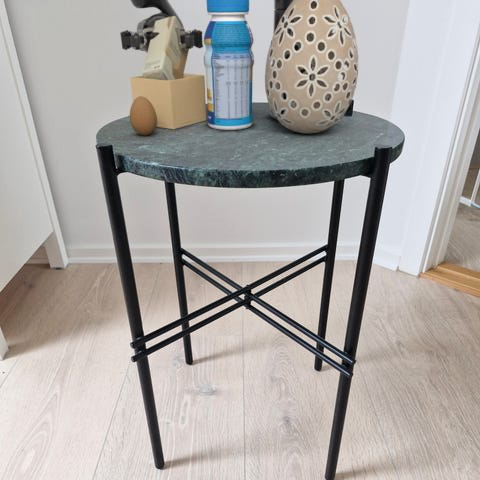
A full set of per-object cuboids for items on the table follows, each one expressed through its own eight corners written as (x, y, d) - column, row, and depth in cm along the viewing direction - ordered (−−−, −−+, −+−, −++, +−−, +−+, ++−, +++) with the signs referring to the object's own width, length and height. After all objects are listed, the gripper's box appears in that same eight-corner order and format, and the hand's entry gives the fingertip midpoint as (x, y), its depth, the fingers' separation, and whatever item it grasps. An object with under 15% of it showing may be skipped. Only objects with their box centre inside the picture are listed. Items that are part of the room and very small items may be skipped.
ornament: (311, 120, 85) (322, -11, 74) (368, 135, 75) (391, -14, 63) (247, 130, 79) (247, -12, 67) (300, 148, 68) (311, -16, 57)
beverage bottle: (230, 133, 77) (228, -13, 65) (197, 126, 81) (189, -11, 70) (262, 125, 82) (265, -12, 70) (229, 119, 86) (227, -10, 75)
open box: (170, 114, 90) (166, 71, 86) (206, 120, 86) (204, 75, 81) (135, 123, 84) (130, 77, 80) (173, 129, 80) (169, 81, 75)
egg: (131, 139, 74) (125, 99, 71) (133, 132, 78) (127, 94, 74) (158, 138, 74) (154, 98, 71) (159, 132, 78) (155, 93, 75)
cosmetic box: (161, 69, 76) (174, 13, 79) (140, 73, 78) (154, 18, 81) (180, 96, 82) (191, 43, 85) (160, 100, 84) (171, 48, 87)
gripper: (121, 13, 85) (115, 15, 72) (196, 13, 87) (204, 14, 74) (127, 59, 90) (123, 68, 76) (198, 57, 91) (206, 66, 78)
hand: (162, 41), depth 75 cm, fingers open, 8 cm apart
